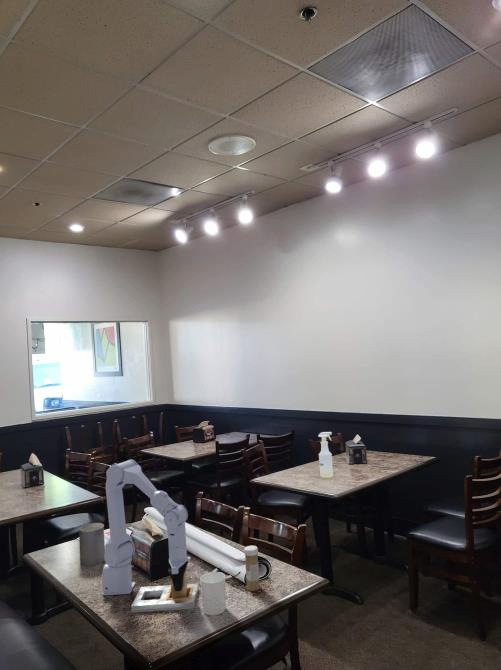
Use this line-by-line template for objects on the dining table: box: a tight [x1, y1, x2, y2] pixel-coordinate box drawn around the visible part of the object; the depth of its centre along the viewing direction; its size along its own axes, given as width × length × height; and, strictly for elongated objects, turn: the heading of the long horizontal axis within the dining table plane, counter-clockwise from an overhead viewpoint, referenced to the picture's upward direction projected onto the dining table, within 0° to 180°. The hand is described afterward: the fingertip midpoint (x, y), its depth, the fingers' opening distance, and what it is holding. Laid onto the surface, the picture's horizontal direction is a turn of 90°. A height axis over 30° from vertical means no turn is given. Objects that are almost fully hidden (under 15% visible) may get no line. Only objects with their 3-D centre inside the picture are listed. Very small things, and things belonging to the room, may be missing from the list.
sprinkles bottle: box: [243, 545, 261, 592], centre depth 165 cm, size 5×5×14 cm
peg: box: [170, 569, 188, 598], centre depth 160 cm, size 4×4×8 cm
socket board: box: [130, 583, 199, 614], centre depth 159 cm, size 20×13×2 cm, turn 89°
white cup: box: [199, 571, 227, 616], centre depth 152 cm, size 8×8×10 cm
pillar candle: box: [78, 522, 106, 567], centre depth 197 cm, size 10×10×15 cm
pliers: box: [198, 567, 233, 587], centre depth 174 cm, size 10×2×15 cm
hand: (179, 587), depth 160 cm, fingers closed on peg, 4 cm apart
